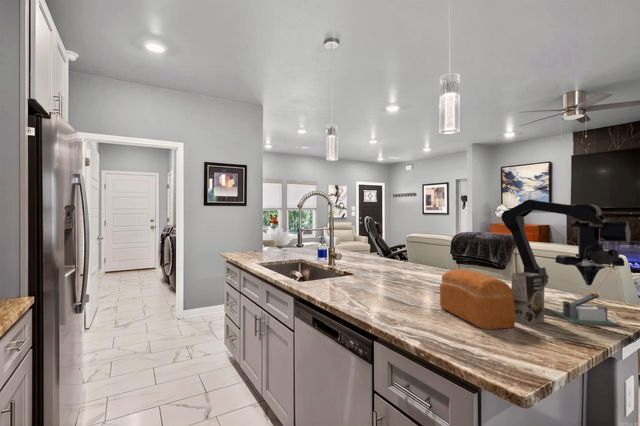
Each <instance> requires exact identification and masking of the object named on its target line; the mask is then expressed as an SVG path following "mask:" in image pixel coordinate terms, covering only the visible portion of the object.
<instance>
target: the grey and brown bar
mask: <svg viewBox="0 0 640 426" xmlns="http://www.w3.org/2000/svg"><path fill="white" fill-rule="evenodd" d="M599 297H600V296H599V293H598V292H596V291H593V290H592V291H589V294H588V295H586V296H584V297H582V298H581V297H580V298H579V299H577V300H574V301H572V302H569V304H567V305H566V307H568V308H570V304H573V305H576V307H577V306H580V305H582V304H586V303H589V302H591V301H593V300H595V299H598V298H599Z"/></svg>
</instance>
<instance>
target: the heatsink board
mask: <svg viewBox="0 0 640 426" xmlns="http://www.w3.org/2000/svg"><path fill="white" fill-rule="evenodd" d="M567 304H570V302H569V301H567V300H566V301H565V300H564V301H563V302H562V311H555V312H554V314H555V315H556V316H558V317H560V318H562V319H564V320H565V321H567V322H569V323H570V324H579V325H581V324H582V325H599V326H600V325H601V326H603V325H605V326H616V322H615V321H612V320H610V319H608V306H605V305H603V304H600V303H599V304H597V307H594V305H593V304H586V303H584V304H582V305H580V306H577V307H576V305H573V304H570V308H568V307H566V305H567Z"/></svg>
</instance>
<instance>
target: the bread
mask: <svg viewBox="0 0 640 426" xmlns="http://www.w3.org/2000/svg"><path fill="white" fill-rule="evenodd" d="M439 306H440V307H441V308H442V309H444V310H445V311H447V312H449V313H450V314H453V315H455V316H457V317H459V318H461V319H462V320H465V321H466V322H469V323H471V324H472V325H474V326H476V327H478V328H480V329H483V330H498V329H499V330H500V329H509V328H514V327H515V323H516V321H515V304H514V298H513V296H512V288H511V287H510V285H508V283H506V282H505V281H503V280H501V279H499V278H495V277H492V276H490V275H487V274H485V273H482V272H478V271H477V272H476V271H471V270H468V269H461V268H457V269H451V270H449V271H446V272H444V273H443V275H442V276H441V283H440V285H439Z"/></svg>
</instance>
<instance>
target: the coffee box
mask: <svg viewBox="0 0 640 426" xmlns="http://www.w3.org/2000/svg"><path fill="white" fill-rule="evenodd" d="M544 276H545V275H544V274H538V273H529V272H524V271H522V272H516V273H511V287H510V288H511V289H512V296H513V298H514V304H515V322H517V323H521V324H525V325H526V326H530V325H534V324H539V323H542V322H545V287H544Z"/></svg>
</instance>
